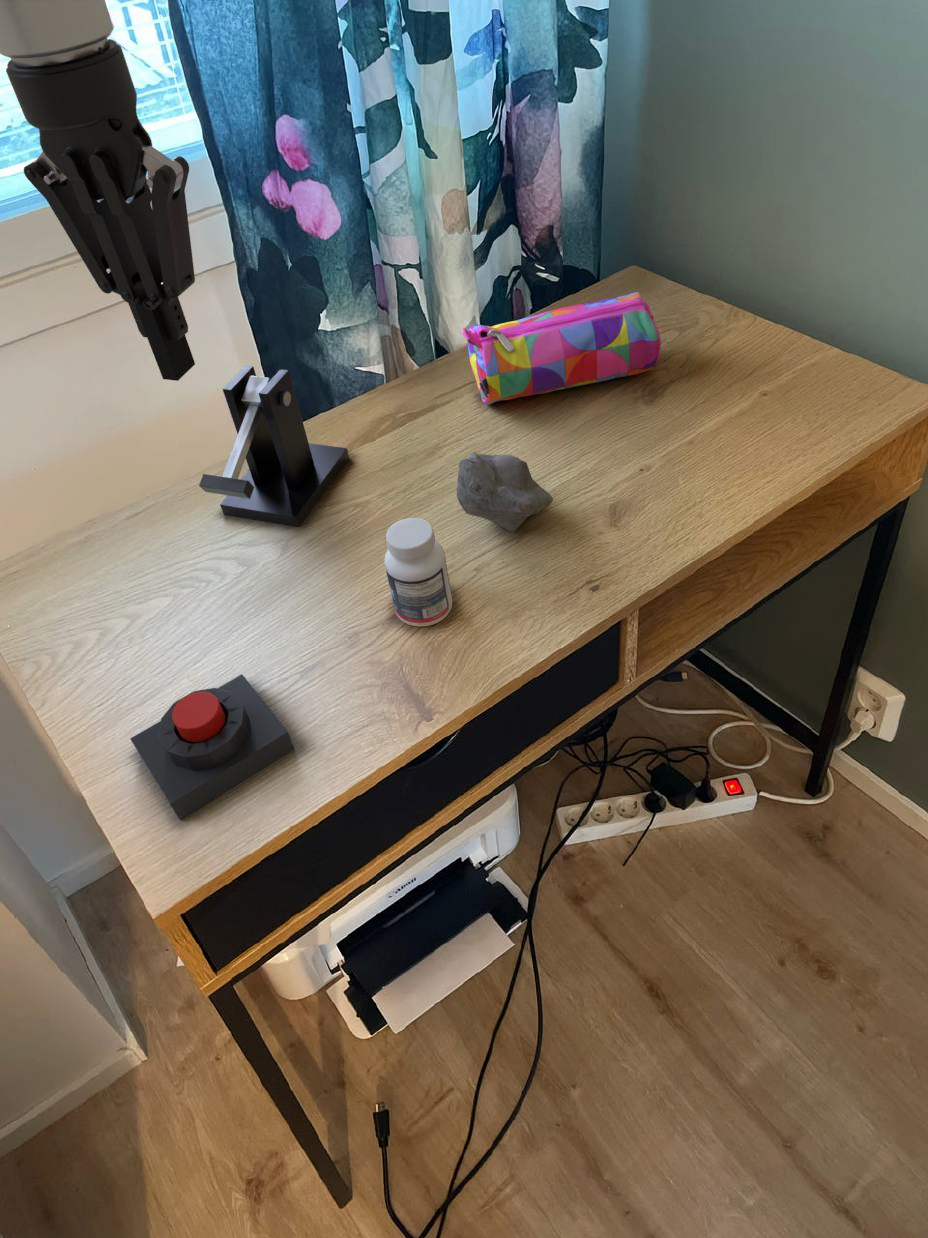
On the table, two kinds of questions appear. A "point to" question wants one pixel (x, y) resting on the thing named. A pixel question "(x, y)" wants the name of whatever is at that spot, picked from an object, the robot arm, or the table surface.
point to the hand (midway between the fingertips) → (179, 371)
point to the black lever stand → (280, 455)
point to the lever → (239, 446)
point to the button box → (213, 749)
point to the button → (198, 717)
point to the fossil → (499, 489)
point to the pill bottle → (417, 573)
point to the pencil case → (564, 348)
